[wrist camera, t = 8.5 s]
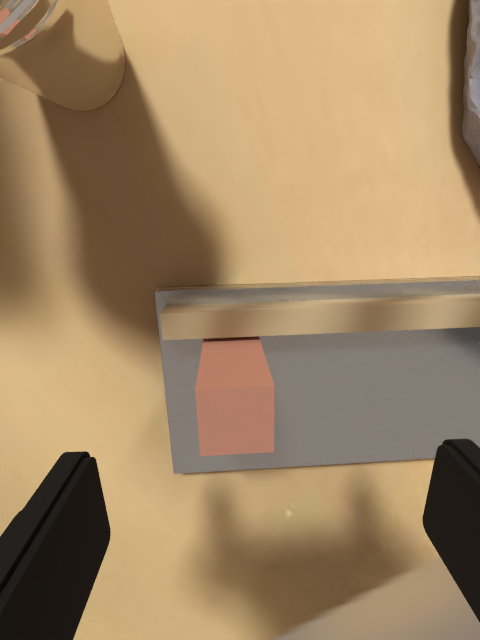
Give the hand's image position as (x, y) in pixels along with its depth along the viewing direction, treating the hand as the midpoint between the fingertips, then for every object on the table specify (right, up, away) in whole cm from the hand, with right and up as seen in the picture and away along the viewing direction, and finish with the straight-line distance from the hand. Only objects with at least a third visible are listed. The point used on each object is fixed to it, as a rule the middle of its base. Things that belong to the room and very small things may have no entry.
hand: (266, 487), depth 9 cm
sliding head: (-1, +2, +10) cm, 10 cm away
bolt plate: (+7, +1, +12) cm, 14 cm away
